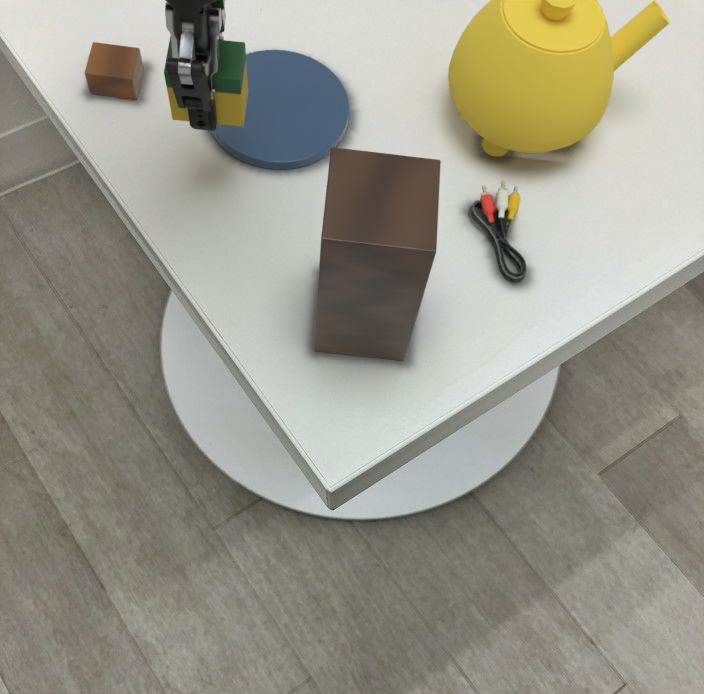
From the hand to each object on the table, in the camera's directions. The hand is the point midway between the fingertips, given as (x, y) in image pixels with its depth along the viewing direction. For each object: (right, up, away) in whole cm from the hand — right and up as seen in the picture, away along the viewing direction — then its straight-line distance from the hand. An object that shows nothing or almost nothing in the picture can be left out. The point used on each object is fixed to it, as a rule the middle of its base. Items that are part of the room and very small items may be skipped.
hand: (207, 105), depth 68 cm
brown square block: (-11, +7, +10) cm, 16 cm away
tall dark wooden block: (+13, -17, +3) cm, 22 cm away
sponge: (0, 0, 0) cm, 0 cm away
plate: (+5, +4, +10) cm, 12 cm away
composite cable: (+26, -9, +7) cm, 29 cm away
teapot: (+31, +5, +13) cm, 34 cm away
